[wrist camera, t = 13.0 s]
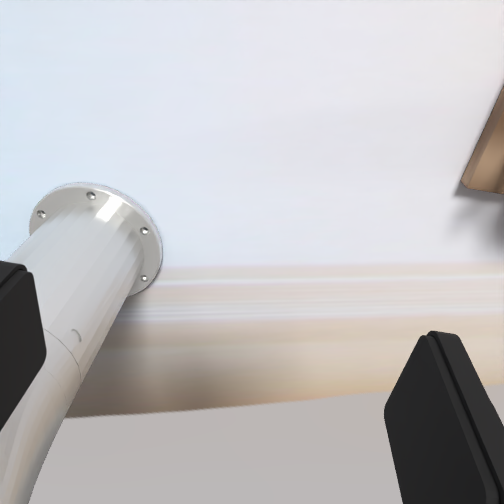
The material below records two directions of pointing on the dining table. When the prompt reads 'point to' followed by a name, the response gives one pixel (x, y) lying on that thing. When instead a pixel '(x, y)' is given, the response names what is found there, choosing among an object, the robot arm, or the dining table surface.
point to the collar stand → (488, 155)
